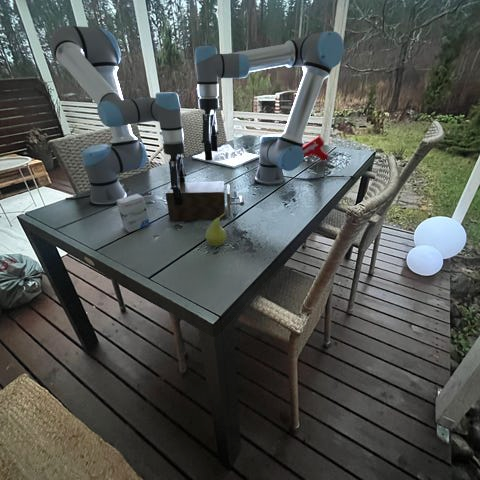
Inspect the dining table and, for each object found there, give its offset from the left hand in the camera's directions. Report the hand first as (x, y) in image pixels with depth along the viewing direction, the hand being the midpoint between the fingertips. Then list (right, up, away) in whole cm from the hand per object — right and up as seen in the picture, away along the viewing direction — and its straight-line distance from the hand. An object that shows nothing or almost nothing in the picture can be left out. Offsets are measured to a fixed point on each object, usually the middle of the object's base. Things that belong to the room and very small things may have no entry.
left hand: (181, 198), depth 108 cm
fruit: (+16, -18, -15) cm, 29 cm away
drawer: (+12, -5, +4) cm, 14 cm away
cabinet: (+6, -6, +4) cm, 10 cm away
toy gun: (+69, +35, +66) cm, 102 cm away
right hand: (+12, +18, +3) cm, 22 cm away
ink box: (-16, -12, -5) cm, 20 cm away
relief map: (+14, +38, +72) cm, 83 cm away
